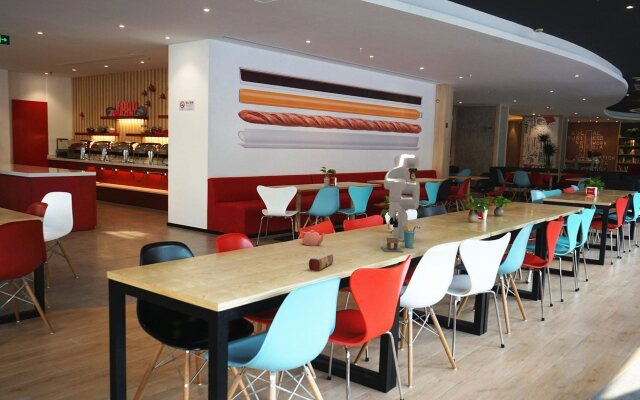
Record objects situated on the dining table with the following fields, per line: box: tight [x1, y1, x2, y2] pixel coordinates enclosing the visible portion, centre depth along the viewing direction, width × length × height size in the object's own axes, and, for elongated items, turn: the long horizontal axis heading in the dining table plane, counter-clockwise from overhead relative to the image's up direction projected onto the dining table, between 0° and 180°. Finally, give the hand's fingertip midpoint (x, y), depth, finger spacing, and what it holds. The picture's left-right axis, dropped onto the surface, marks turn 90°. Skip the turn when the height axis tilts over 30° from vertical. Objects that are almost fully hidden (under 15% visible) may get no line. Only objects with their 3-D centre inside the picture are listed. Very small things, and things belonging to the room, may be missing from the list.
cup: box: [403, 225, 421, 249], centre depth 371 cm, size 14×8×15 cm, turn 50°
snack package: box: [308, 252, 334, 272], centre depth 301 cm, size 21×7×7 cm, turn 158°
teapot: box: [300, 229, 326, 247], centre depth 365 cm, size 12×18×10 cm
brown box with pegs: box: [386, 237, 399, 250], centre depth 359 cm, size 6×6×7 cm
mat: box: [380, 246, 404, 253], centre depth 360 cm, size 12×12×1 cm
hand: (393, 226), depth 359 cm, fingers open, 9 cm apart
